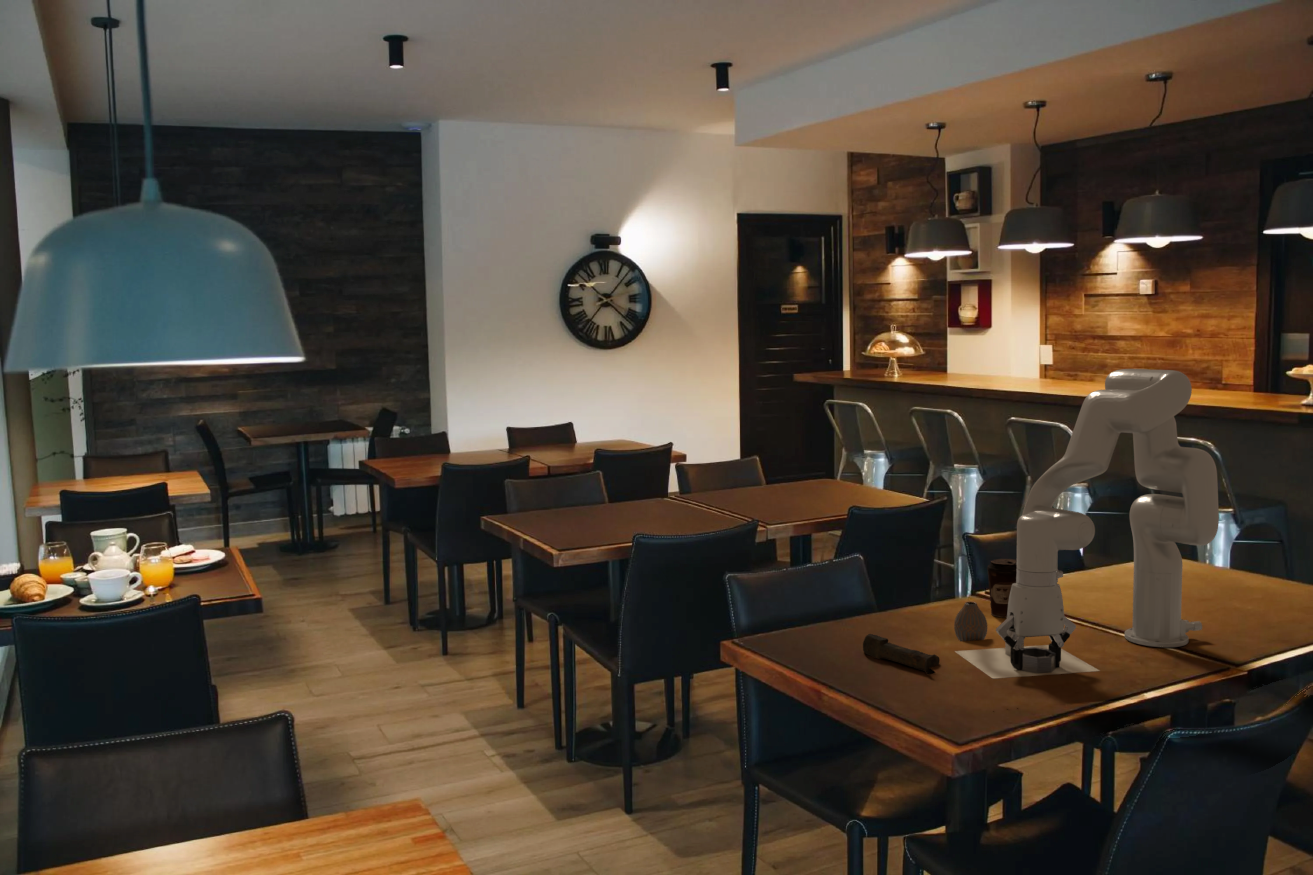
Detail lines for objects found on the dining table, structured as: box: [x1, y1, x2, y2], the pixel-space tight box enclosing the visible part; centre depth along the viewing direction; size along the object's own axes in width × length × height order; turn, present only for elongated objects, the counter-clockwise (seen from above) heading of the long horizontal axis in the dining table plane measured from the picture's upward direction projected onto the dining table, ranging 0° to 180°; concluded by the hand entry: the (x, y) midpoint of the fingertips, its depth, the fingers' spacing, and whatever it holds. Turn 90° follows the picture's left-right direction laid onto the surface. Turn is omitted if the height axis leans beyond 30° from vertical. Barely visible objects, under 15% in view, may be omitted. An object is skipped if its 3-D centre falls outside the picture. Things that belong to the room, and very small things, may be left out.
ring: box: [1020, 647, 1056, 673], centre depth 218 cm, size 7×7×3 cm
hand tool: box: [862, 633, 940, 675], centre depth 228 cm, size 19×4×5 cm, turn 34°
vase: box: [953, 601, 988, 642], centre depth 240 cm, size 7×7×9 cm
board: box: [954, 630, 1101, 679], centre depth 222 cm, size 22×18×8 cm
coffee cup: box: [986, 558, 1017, 618], centre depth 261 cm, size 9×8×13 cm
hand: (1035, 665), depth 218 cm, fingers closed on ring, 7 cm apart
